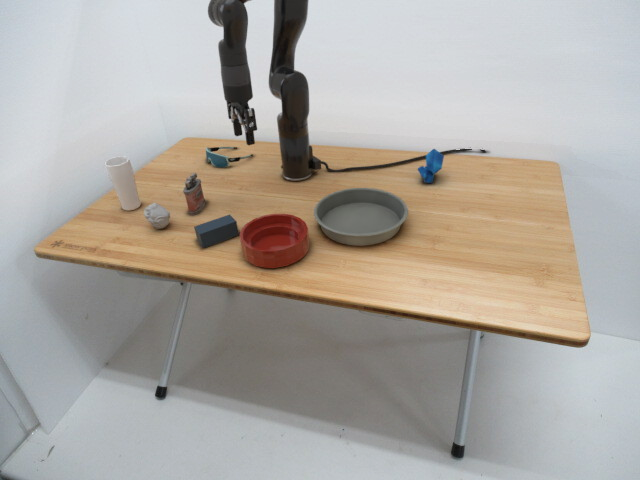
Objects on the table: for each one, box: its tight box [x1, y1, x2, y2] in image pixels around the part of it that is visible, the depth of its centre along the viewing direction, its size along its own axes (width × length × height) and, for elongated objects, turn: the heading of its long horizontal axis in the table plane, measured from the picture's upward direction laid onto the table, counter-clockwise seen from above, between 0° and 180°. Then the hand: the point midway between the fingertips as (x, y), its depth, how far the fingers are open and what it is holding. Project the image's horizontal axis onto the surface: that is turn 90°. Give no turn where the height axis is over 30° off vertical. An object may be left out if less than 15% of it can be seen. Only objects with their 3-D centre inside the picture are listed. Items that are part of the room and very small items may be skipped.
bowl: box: [239, 213, 310, 269], centre depth 115 cm, size 17×17×6 cm
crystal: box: [417, 148, 445, 184], centre depth 141 cm, size 7×9×12 cm
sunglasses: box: [205, 146, 254, 168], centre depth 164 cm, size 14×15×5 cm
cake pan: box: [313, 187, 409, 247], centre depth 123 cm, size 25×25×4 cm
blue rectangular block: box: [193, 214, 240, 249], centre depth 122 cm, size 10×4×4 cm, turn 122°
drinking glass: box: [104, 155, 142, 212], centre depth 136 cm, size 7×7×15 cm
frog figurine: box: [143, 202, 171, 230], centre depth 127 cm, size 6×7×7 cm
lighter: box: [182, 172, 206, 216], centre depth 134 cm, size 8×3×10 cm, turn 168°
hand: (244, 139), depth 131 cm, fingers open, 8 cm apart
